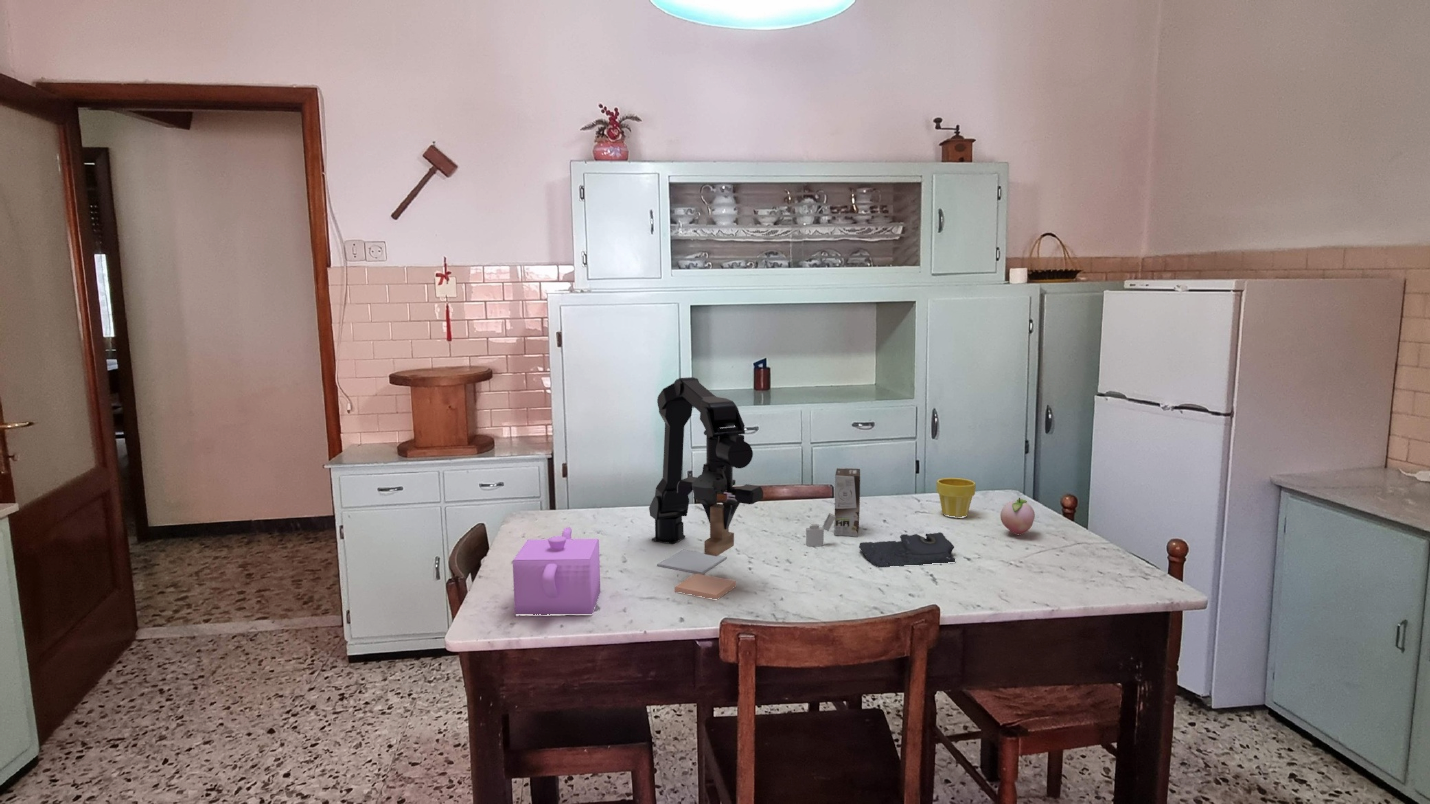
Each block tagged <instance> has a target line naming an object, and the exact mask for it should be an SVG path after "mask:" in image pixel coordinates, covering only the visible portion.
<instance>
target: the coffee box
mask: <svg viewBox="0 0 1430 804" xmlns="http://www.w3.org/2000/svg"><path fill="white" fill-rule="evenodd" d="M834 477H835V481H834V482H835V483H834V515H835V519H834V521H833V523H834V527H833V528H834V530H833V535H834V536H845V537H854V538H855V537H856V536H857V537H858V536H859V529H860V511H861V510H860V507H861V469H860V468H847V467H846V468H836V469H835V476H834Z"/></svg>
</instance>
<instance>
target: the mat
mask: <svg viewBox="0 0 1430 804" xmlns="http://www.w3.org/2000/svg"><path fill="white" fill-rule="evenodd" d="M727 559H728V556H726V555H721V554H720V555H718V556H712V555H706V554H704V552H703V551H699V550H698V551H696V550H690V549H686V548H682V549H681V550H679V551H678V552H675V553H674V554H672V555H670V556H669V557H667V558H665V559H663V560H661V561H660V562H657V563H656V567H659V568H660V567H661V568H666V569H671V568H672V570H677V571H681V570H683V571H682V572H688V573H692V572H693V573H692V574H695V573H697V574H702V575H705V573H707V572H708V571H710V570H711V569H713V568H714V567H716V566H718V565H719V564H721V563H722V562H724V561H725V560H727Z"/></svg>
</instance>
